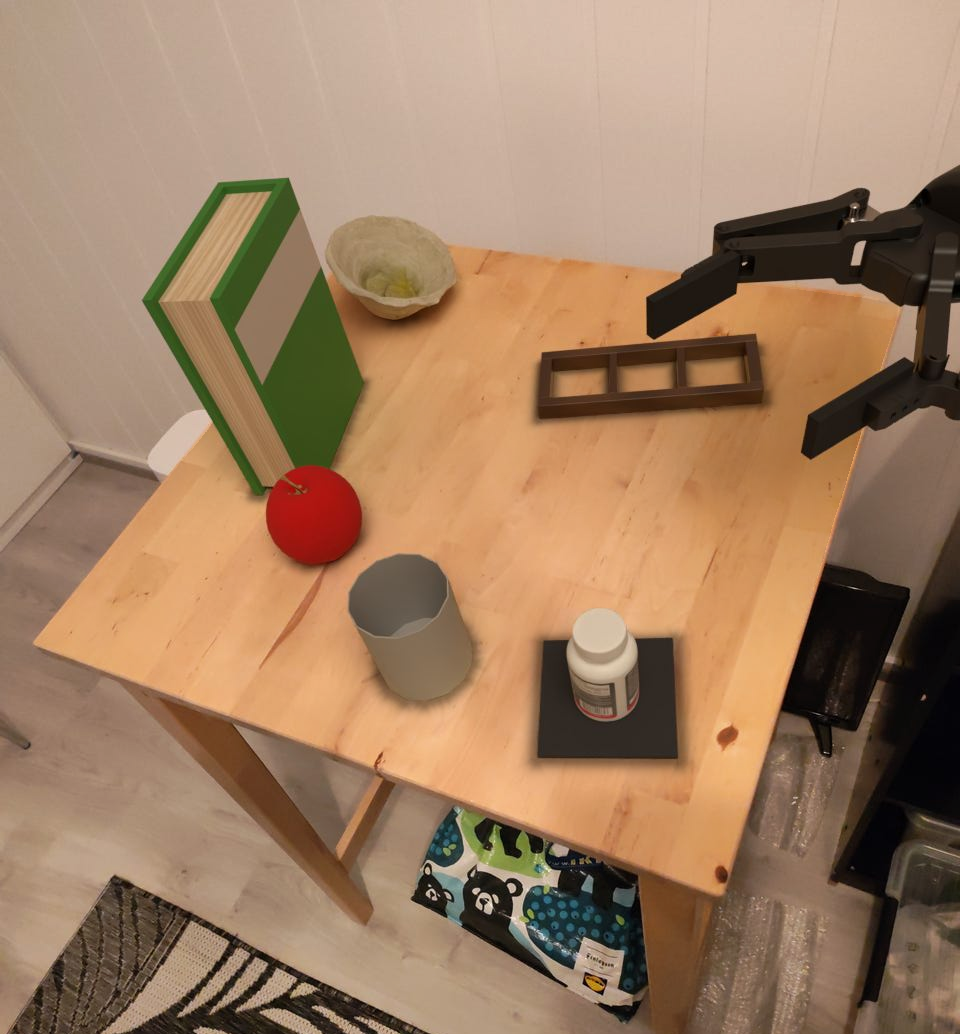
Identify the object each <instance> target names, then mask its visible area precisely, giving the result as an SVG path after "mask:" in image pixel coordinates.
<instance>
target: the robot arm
mask: <svg viewBox="0 0 960 1034" xmlns="http://www.w3.org/2000/svg"><path fill="white" fill-rule="evenodd" d="M870 196H871V191H870V190H869V189H868V188H865V187H855V188H853V189H851V190H848V191H846V192H843V193H841V194H839V195H837V196H835V197H832V198H831V199H826V200H821V201H815V202H812V203H807V204H802V205H797V206H796V205H795V206H791V207H787V208H783V209H777V210H773V211H767V212H763V213H759V214H754V215H748V216H744V217H738V218H735V219H730V220H725V221H721V222H718V223H716V224H715V225H714V226H713V233H712V234H713V235H712V236H713V237H712V251H711V255H710V256H708V257H706V258H704V259H703V260H701V261H699V262H698V263H695V264H694V265H693V266H690V267H688V268H686V269H685V270H684V271H682V273H681V274H680V278H678V279H676V280H674V281H673V282H671V283H669V284H667V285H665V286H664V287H662V288H660V289H658V290H656V291H655V292H653V293H650V294H649V295H647V296H646V297H645V312H646V313H645V314H646V315H645V317H646V319H645V320H646V321H645V322H646V323H645V324H646V325H645V326H646V329H645V330H646V331H645V332H646V336H648V337H649V338H650V339H652V341H655V340H657V339H659V338H661V337H663V336H664V335H666V334H667V333H669V332H671V331H673V330H675V329H676V328H679V327H680V326H682V325H684V324H686V323H687V322H689V321H691V320H693V319H694V318H697V317H698V316H700V315H702V314H703V313H705V312H707V311H709V310H710V309H712V308H714V307H716V306H718V305H719V304H721V303H723V302H725V301H726V300H728V299H731V298H732V297H733V296H735V295H737V294H738V293H737V292H738V284H755V283H771V282H790V281H808V280H828V279H831V280H834V282H835V283H836V284H837V285H841V286H845V285H847V286H848V285H861V286H863V287H865V288H866V289H868V290H870V291H873V292H875V293H879V294H882V295H883V296H884V297H885V298H886V299H887V300H888V301H889V302H890V303H893V304H894V305H896V306H897V307H899V308H901V307H904V306H908V307H917V311H916V321H915V331H916V333H915V342H914V351H913V360H911V359H908V358H907V357H906V356H903V357H902V358H900V359H898V360H897V361H895V362H894V363H892V364H890V365H888V366H886V367H885V368H884V369H882V370H880V371H878V372H877V373H875V374H873V375H871V376H870V377H869V378H866V379H865V380H863V381H861V382H860V383H858V384H857V385H855V386H853V387H852V388H850V389H848V390H847V391H845V392H844V393H842V394H840V395H839V396H837V397H835V398H833V399H832V400H830V401H828V402H826V403H825V404H823V405H822V406H820V407H819V408H816V409H815V410H813V411H812V412H810V413H809V414H807V418H806V423H805V429H804V433H803V439H802V443H801V450H800V453H801V454H802V455H803V456H804V457H806V458H807V459H809V461H811V460H814V459H815V458H817V457H818V456H820V455H822V454H823V453H825V452H827V451H828V450H831V448H833V447H835V446H837V445H838V444H840V443H841V442H843V441H845V440H846V439H848V438H849V437H851V436H852V435H855V434H856V433H858V432H859V431H861V430H862V429H864V428H866V427H868V428H869V429H871V430H872V431H874V432H879V431H881V430H886V429H888V428H889V427H891V426H892V425H894V424H896V423H897V422H899V421H900V420H902V419H904V418H905V417H907V416H909V415H910V414H912V413H913V412H915V411H917V410H918V409H922V410H923V409H924V410H925V409H929V408H930V407H936V408H939V409H943V410H944V415H945V417H946V418H948V419H950V420H952V421H957V422H960V371H958V372H955V371H952V370H948V369H946V367H947V365H948V363H949V359H950V357H951V354H949V353H948V345H949V333H950V322H951V321H950V320H951V310H952V309H951V307H952V304H958V303H959V304H960V164H958V165H957V166H955V167H952V168H951V169H949V170H947V171H946V172H944V173H941V174H940V175H939V176H936V177H935V178H933V179H932V180H931V181H929V182H928V183H927V184H925V186H923V188H922V189H921V190H920V191H919V193H917V194H916V195H915V196H914V198H912V200H911V201H910V202H909V203H908V204H907V205H905V206H904V207H903V206H902V207H901V208H896V209H892V210H886V211H883V212H882V213H881V212H880V211H879V210H877V209H875V208H874V207H872V206H871V205H869V200H870ZM860 242H865V244H864V246H863V250H862V254H861V258H860V261H859V262H860V263H859V264H854V265H852V262H853V257H854V253H855V248H856V246H857V244H858V243H860Z"/></svg>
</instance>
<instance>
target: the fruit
mask: <svg viewBox="0 0 960 1034" xmlns="http://www.w3.org/2000/svg"><path fill="white" fill-rule="evenodd" d="M265 505H266V506H265V523H266V528H267V531H268V534H269V535H270V538H271V539H272V542H273V543H274V545H275V546H276V547H277V548H278V549H279V551H281V552H282V553H283V554H284V555H286V556H287V557H289V558H290V559H292V560H294V561H295V562H299V563H301V564H306V565H319V564H325V563H328V562H332V561H335V560H338V559H340V557H342V556H344V554H345V553H347V552H348V551H349V550H351V548H352V546H353V545H354V544H355V542H356V540H357V539H358V537H359V535H360V532H361V528H362V522H363V521H362V520H363V511H362V506H361V501H360V499H359V496H358V494H357V491H356V489H354V487H353V485H352V484H351V482H349V481H348V480H347V479H346V478H345V477H344V476H342V475H341V474H339V473H338V472H336V471H334V470H332V469H330V468H329V469H327V468H325V467H321V466H316V465H307V466H300V467H298V468H295V469H293V470H290V471H289V472H287V473H286V474H284V475H282V476H281V478H280V479H279V480H278V481H277V482H276V484H275V485H274V487H272V488H271V490H270V492H269V495H268V498H267V501H266V504H265Z"/></svg>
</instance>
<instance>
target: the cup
mask: <svg viewBox="0 0 960 1034" xmlns="http://www.w3.org/2000/svg"><path fill="white" fill-rule="evenodd" d="M346 610H347V614H348V616H349V617H350V619H351V621H352V623H353V625H354V627H355V629H356V631H357V632H358V634H359V635H360V638H361V639H362V641H363V644H364V645H365V647H366V649H367V650H368V653H369V654H370V655H371V658H372V660H373V662H374V663H375V665H376V667H377V669H378V671H379V673H380V675H381V676H382V679H383V680H384V681H385V683H386V685H387V687H388V689H389V690H390V691H391V692H393V693H395V694H397V695H398V696H400V697H401V698H402V699H404V700H407V701H409V700H410V701H422V702H428V701H430V700H434V699H437V698H441V697H443V696H447V695H448V694H450V693H451V692H452V691H453V690H455V688H457V687H458V686H459V685H460V684H461V683H463V682H464V681H465V679H466V676H467V674H468V672H469V670H470V668H471V666H472V664H473V653H472V651H473V650H472V642H471V640H470V636H469V633H468V631H467V627H466V625H465V622H464V620H463V616H462V613H461V611H460V607H459V605H458V602H457V599H456V596H455V594H454V591H453V587H452V585H451V582H450V579H449V577H448V576H447V573H446V572H445V570H443V567H442V566H441V565H440V563H439V562H437V561H435V560H434V559H432V558H429V557H427V556H425V555H423V554H421V553H402V552H398V553H395V554H392V555H389V556H386V557H385V556H384V557H383V558H380V559H376V560H375V561H374V562H373V563H371V564H370V565H369V566H367V567H366V568H364V570H362V571H361V572H359V574H358V575H357V576H356V578H355V579H354V582H353V584H352V585H351V586H350V589H349V590H348V591H347V607H346Z"/></svg>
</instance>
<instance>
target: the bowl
mask: <svg viewBox="0 0 960 1034" xmlns="http://www.w3.org/2000/svg"><path fill="white" fill-rule="evenodd" d="M324 257H325V261H326V264H327V266H328V268H329V269H330V271H331V272H332V273H333V276H334V278H335V279H336V281H337V282H338V284H340V285H341V286H342V287H343V288H344V289H345V290H346V291H347V292H349V293H350V294H352V296H353V297H354V298H356V299H357V300H358V301H359V302H360V303H361V304H362V305H363V307H365V308H366V309H367V310H368V311H369V312H370V313H372V314H373V315H375V316H377V317H379V318H382V319H387V320H396V321H397V320H401V319H405V318H407V317H410V316H412V315H414V314H415V313H417V312H419V311H420V310H422V309H425V308H426V307H427V308H428V307H430V306H433V305H437V304H439V302H440V300H441V299H442V297H443V296H444V295H445V293H446V292H447V291H448V290H449V289H450V288H452V287H454V286H455V285H456V283H457V281H458V279H457V273H456V266H455V262H454V260H453V257H452V253H451V250H450V248H449V246H448V245H447V244H446V243H445V242H444V241H443V240H442V239H441V238H440V237H439V236H438V235H437V234H436V233H435V232H434V231H432V230H430V229H429V228H426V227H424V226H422V225H420V224H418V223H417V222H415V221H412V220H409V219H408V218H403V217H400V216H390V215H389V216H384V215H373V214H372V215H368V216H362V217H357V218H354V219H352V220H350V221H347V222H346V223H343V224H342V225H341V226H339V227H337V228H336V229H335V230H334V231H333V232H332V233H331V235H330V236H329V239H328V242H327V244H326V247H325V250H324Z"/></svg>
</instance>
